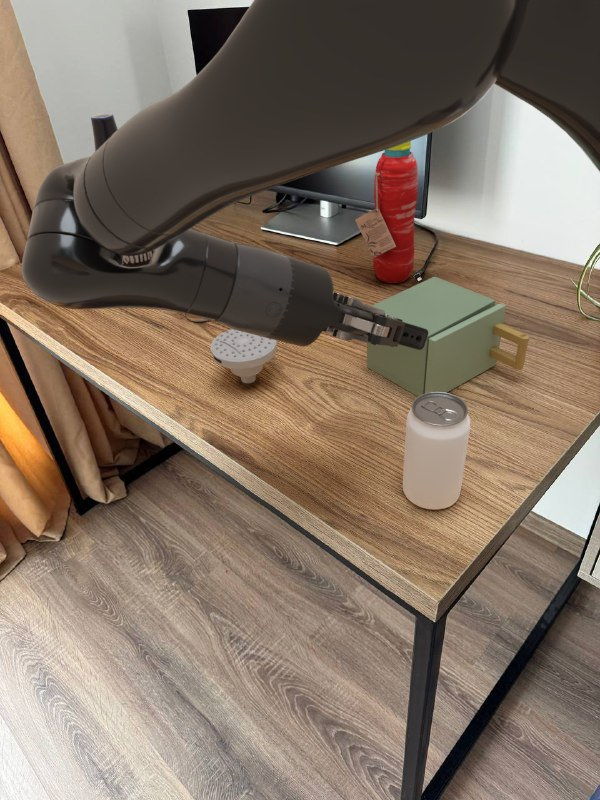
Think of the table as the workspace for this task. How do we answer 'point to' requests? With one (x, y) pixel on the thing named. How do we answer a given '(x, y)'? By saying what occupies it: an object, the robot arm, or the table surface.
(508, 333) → the cabinet door
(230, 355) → the showerhead
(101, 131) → the vase
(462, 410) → the can
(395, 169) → the water bottle
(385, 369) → the cabinet
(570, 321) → the table surface
